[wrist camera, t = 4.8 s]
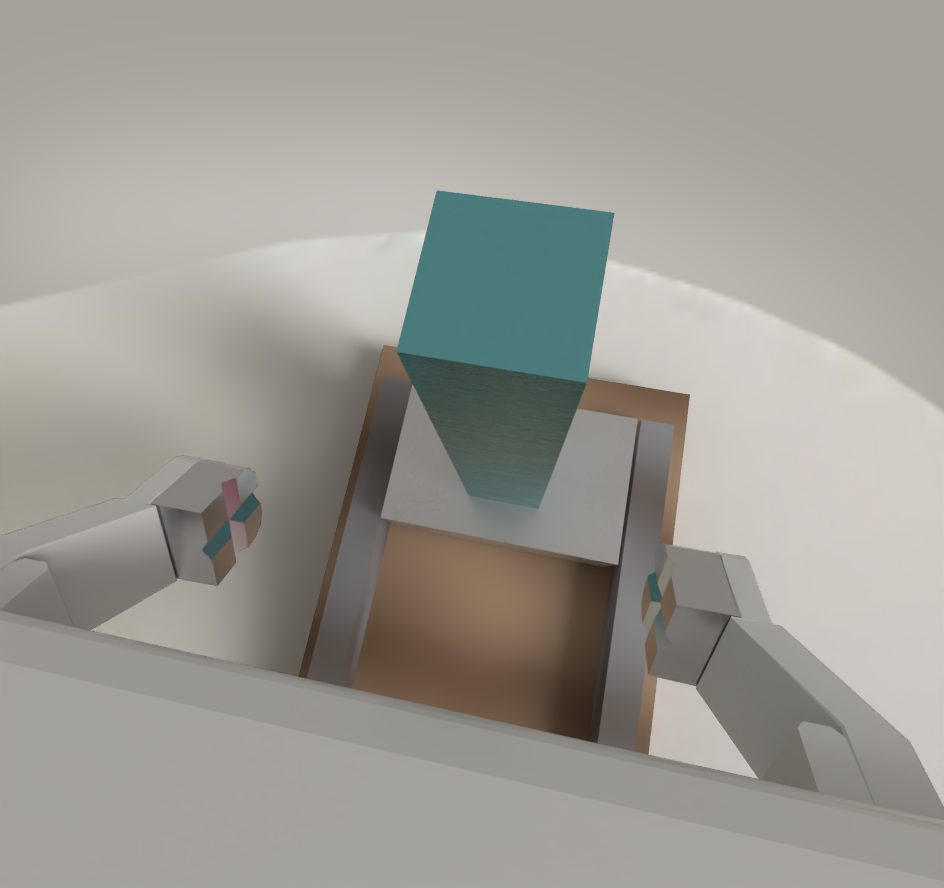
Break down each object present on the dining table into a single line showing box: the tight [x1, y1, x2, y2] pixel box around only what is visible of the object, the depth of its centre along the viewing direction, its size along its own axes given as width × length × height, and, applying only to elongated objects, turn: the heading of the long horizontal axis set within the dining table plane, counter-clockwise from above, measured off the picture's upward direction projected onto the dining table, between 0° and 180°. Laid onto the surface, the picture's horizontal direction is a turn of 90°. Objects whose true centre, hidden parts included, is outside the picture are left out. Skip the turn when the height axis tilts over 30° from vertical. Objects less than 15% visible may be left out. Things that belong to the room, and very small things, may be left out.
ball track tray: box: [299, 345, 690, 754], centre depth 19 cm, size 26×13×7 cm, turn 169°
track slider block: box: [381, 191, 638, 567], centre depth 14 cm, size 5×8×15 cm, turn 79°
